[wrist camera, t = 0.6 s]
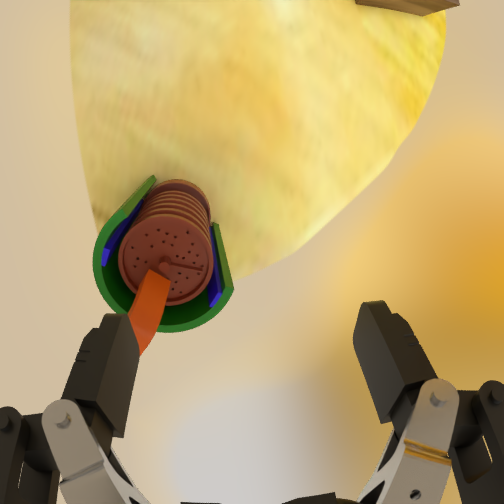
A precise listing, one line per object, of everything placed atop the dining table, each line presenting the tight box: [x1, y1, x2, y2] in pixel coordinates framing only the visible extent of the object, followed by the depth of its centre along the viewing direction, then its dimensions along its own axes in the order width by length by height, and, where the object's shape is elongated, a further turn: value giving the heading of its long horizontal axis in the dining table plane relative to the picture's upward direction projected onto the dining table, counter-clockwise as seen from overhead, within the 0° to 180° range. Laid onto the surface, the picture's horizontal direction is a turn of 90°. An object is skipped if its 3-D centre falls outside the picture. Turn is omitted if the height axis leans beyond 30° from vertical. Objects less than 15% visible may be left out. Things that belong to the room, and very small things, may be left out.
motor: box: [93, 175, 234, 355], centre depth 26 cm, size 10×9×20 cm
